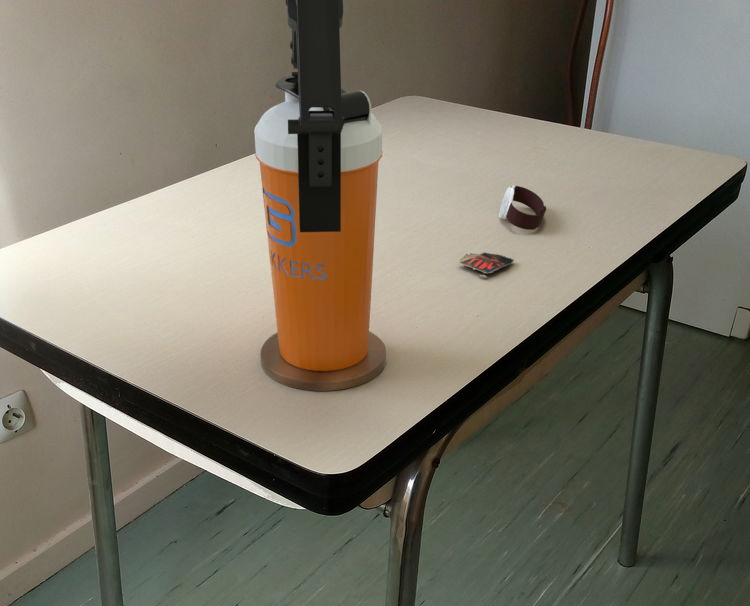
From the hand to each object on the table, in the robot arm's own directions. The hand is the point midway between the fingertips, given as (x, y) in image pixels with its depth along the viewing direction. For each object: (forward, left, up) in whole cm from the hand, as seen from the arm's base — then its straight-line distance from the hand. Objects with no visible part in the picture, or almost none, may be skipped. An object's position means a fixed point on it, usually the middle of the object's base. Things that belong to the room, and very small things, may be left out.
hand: (315, 194), depth 72 cm
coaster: (0, 0, -14) cm, 13 cm away
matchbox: (+16, +17, -14) cm, 27 cm away
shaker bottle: (0, 0, -13) cm, 13 cm away
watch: (+22, +28, -14) cm, 38 cm away
